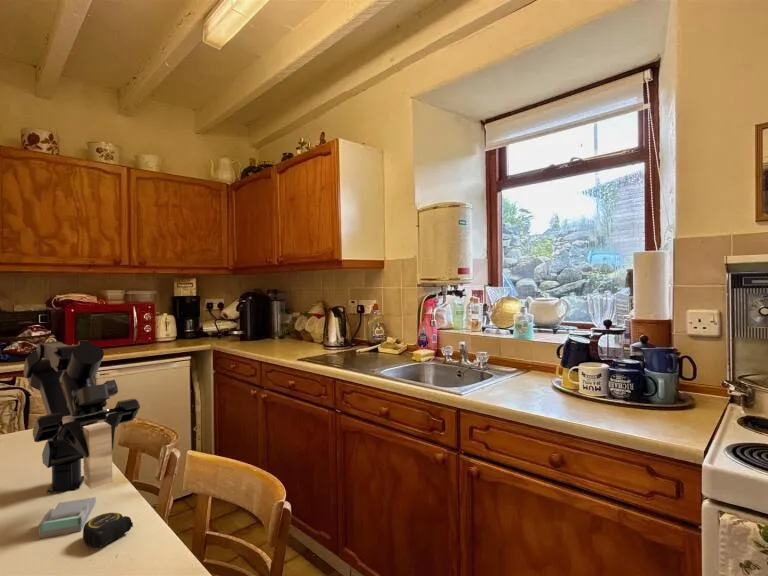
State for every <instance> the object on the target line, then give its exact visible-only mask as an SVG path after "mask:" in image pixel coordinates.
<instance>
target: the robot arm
mask: <svg viewBox="0 0 768 576" xmlns="http://www.w3.org/2000/svg"><path fill="white" fill-rule="evenodd" d="M77 343H78V344H72V345H68V344H66V343H63V341H58V340H57V341H45V342H41V343H37V346H36V349H35V350H34V351H33V352H31V353H30V354H29V355H28V356H27V357H26V358H25V361H24V365H23V377H24V379H27V382H28V384H29V386H30V387H31V388H33V389H35V390H37V391H39V393H40V396H41V400H42V403H43V406H44V409H45V413H46V414H44V415H41V416H38V417H37V419H35V424H34V426H33V429H32V438H33V441H34V442H35V443H40V442H44V441H46V442H45V445H44V447H43V451H42V454H41V457H42V464H43V465H44V466H45V467H46V468H47V469H49V468H51V484H50V486H49V487H48V488H47V489H46V494H49V493H50V494H51V493H56V492H63V491H70V490H77V489H80V488H81V486H82V485H83V483H84V475H82V459H83V460H84V458H83V456H84V457H86V458H87V457H88V456H89V452H88V447H87V445H86V442H85V440H84V437H83V426H86V425H85V424H89V423H90V424H91V423H94V422H95V423H96V422H98V421H102V422H106V423H108V424H109V425H111V438H112V450H113V449H114V443H115V442H114V441H115V440H114V439H115V431H116V428H117V427H118V426H119V424H123V423H128V422H132V421H133V420H134V419H135V418H136V416H137V414H138V412H139V410H140V408H141V405H140V403H139V400H138V399H136V398H130V399H124V400H119V401H117V402H116V405H115V407H114V408H110V409H109V408H108V409H104V407H106V406H107V405H108V404H107V403H108V402H107V400H109V399H111V397H113V396H115V395H117V394H118V392H119V388H118V384H117V381H116V380H115V379H111V380H106V381H105V382H103V383H102V384H96V382H95V378H94V376H96V375H97V374H98V371H99V368H100V365H101V364H102V361H103V358H104V356H105V352H104V350H103V349H102V348H101V347H100V346H98V345H97V344H94V343H91V341H90V339H86V340H79V341H78V342H77Z"/></svg>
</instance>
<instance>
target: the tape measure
mask: <svg viewBox="0 0 768 576" xmlns="http://www.w3.org/2000/svg"><path fill="white" fill-rule="evenodd" d="M133 527H134V522H132V519H131V517H130V516H125V515H122V514H121V513H119V512H105V513H103V514H99V515H96V516H94V517H92V518H91V519H89V520H87V521H86V522H85V524H84V526H83V528H82V539H83V543H84V544H85V545H87V546H90V547H95V548H99V547H103V546H104V545H105V546H106V545H107V544H108V543H110V542H111V541H114V540H115V539H117V538H119V537H121V536H122V535H125V534H126V533H127V532H129V531H130V530H131V529H132V528H133Z"/></svg>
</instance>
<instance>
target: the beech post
mask: <svg viewBox="0 0 768 576" xmlns="http://www.w3.org/2000/svg"><path fill="white" fill-rule="evenodd" d="M83 437H84V440H85V442H86V445H87V447H88V452H89V456H88V457H87V458H86V457H84V456H83V476H84V481H83V483H84V485H86V487H88V488H89V489H90V490H92V489H95V488H98V487H101V486H104V485H107V484H110V483H113V480H114V479H113V449H112V438H111V425H109V424H108V423H106V422H104V421H101V422H95V423H92V424H88V425H85V426H83Z"/></svg>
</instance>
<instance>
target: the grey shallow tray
mask: <svg viewBox="0 0 768 576" xmlns="http://www.w3.org/2000/svg"><path fill="white" fill-rule="evenodd" d="M96 499H97V497H96V496H95V497H88V498H87V497H86V498H82V499H75V500H68V501H63V502H62V501H61V502H58V503H57V505H56V506H55V508H49V509H48V511H47V512H46V513H45V515H44V516H43V518H42V519H41V521H40V522H39V523H38V539H43V538H48V537H49V538H50V537H54V536H55V537H56V536H59V535H65V534H72V533H77V532H82V531H83V528H84V526H85V524H86V523H87V521H88V519H89V516H90V515H91V512H92V510H93V508H94V507H95V505H96V502H97V500H96Z"/></svg>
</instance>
